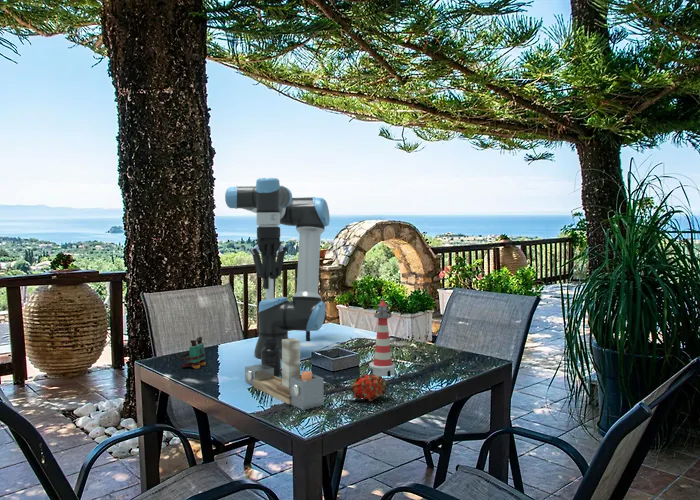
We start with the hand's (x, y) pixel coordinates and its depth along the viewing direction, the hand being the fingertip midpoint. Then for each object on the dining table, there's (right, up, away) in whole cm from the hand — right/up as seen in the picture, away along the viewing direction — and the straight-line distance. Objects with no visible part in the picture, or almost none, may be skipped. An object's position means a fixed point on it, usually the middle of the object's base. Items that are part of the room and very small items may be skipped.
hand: (269, 298), depth 178 cm
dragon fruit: (+32, -29, -14) cm, 46 cm away
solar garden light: (+7, -26, +72) cm, 77 cm away
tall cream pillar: (+8, -27, -12) cm, 31 cm away
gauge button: (+14, -26, -19) cm, 35 cm away
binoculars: (-33, -28, +26) cm, 50 cm away
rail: (+5, -29, -7) cm, 30 cm away
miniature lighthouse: (+37, -28, +13) cm, 49 cm away
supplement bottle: (-2, -28, +14) cm, 32 cm away
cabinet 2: (+14, -29, -19) cm, 37 cm away
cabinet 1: (-4, -28, +4) cm, 29 cm away
